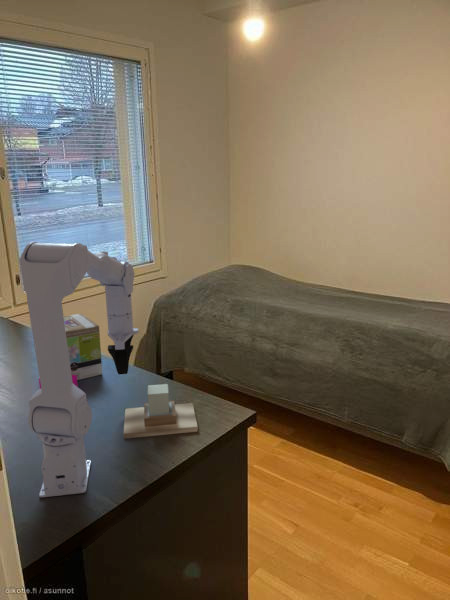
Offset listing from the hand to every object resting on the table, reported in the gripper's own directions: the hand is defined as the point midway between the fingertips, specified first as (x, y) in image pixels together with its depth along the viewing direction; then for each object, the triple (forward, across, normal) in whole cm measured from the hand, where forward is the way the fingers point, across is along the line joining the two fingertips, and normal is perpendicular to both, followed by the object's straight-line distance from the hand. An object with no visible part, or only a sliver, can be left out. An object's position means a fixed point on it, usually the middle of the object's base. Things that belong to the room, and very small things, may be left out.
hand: (123, 366), depth 112 cm
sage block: (+7, -9, -8) cm, 14 cm away
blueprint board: (+10, -9, -8) cm, 16 cm away
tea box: (+11, +24, +15) cm, 30 cm away
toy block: (+11, +10, +16) cm, 22 cm away
